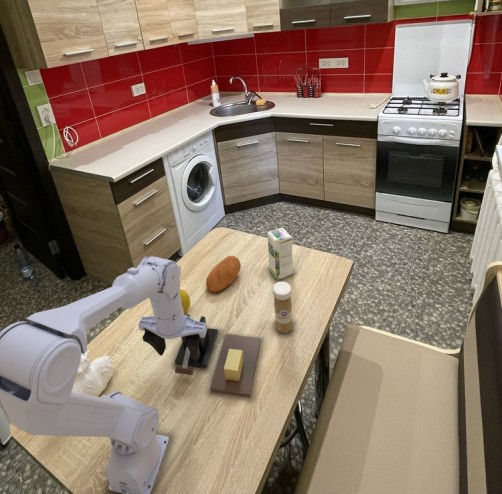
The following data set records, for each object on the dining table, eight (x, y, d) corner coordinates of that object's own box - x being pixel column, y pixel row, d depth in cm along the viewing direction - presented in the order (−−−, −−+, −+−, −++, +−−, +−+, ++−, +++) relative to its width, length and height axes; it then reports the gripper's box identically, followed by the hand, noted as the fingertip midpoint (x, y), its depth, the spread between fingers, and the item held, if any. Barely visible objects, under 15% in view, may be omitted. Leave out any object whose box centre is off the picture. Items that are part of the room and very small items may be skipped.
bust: (115, 373, 85) (88, 335, 85) (126, 372, 80) (98, 333, 80) (69, 419, 76) (40, 377, 76) (79, 421, 71) (47, 377, 71)
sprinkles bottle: (279, 336, 88) (276, 296, 83) (273, 322, 92) (270, 283, 87) (295, 330, 89) (294, 291, 84) (288, 316, 93) (286, 278, 88)
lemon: (188, 321, 95) (183, 300, 91) (169, 319, 96) (164, 298, 93) (194, 305, 100) (190, 284, 96) (177, 303, 101) (172, 283, 98)
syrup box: (268, 269, 111) (265, 232, 105) (284, 263, 113) (282, 226, 107) (277, 280, 106) (275, 242, 100) (294, 273, 108) (292, 236, 102)
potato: (247, 274, 110) (245, 259, 106) (217, 301, 102) (214, 285, 98) (231, 262, 114) (229, 247, 110) (201, 287, 106) (198, 272, 102)
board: (250, 397, 75) (249, 394, 75) (210, 391, 77) (210, 388, 77) (260, 340, 88) (260, 337, 87) (226, 336, 89) (226, 334, 89)
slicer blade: (193, 376, 79) (190, 374, 77) (176, 373, 80) (173, 371, 78) (203, 324, 86) (201, 321, 84) (188, 322, 87) (185, 319, 85)
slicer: (206, 368, 82) (201, 343, 78) (175, 364, 84) (168, 339, 80) (218, 332, 91) (214, 307, 87) (189, 329, 92) (184, 305, 89)
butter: (239, 381, 78) (237, 370, 76) (225, 379, 78) (223, 368, 77) (243, 360, 82) (242, 350, 81) (230, 358, 83) (229, 348, 81)
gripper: (207, 296, 72) (215, 341, 78) (144, 290, 75) (156, 334, 81) (196, 324, 66) (206, 371, 72) (127, 317, 69) (142, 362, 75)
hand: (178, 353), depth 76 cm, fingers open, 7 cm apart
